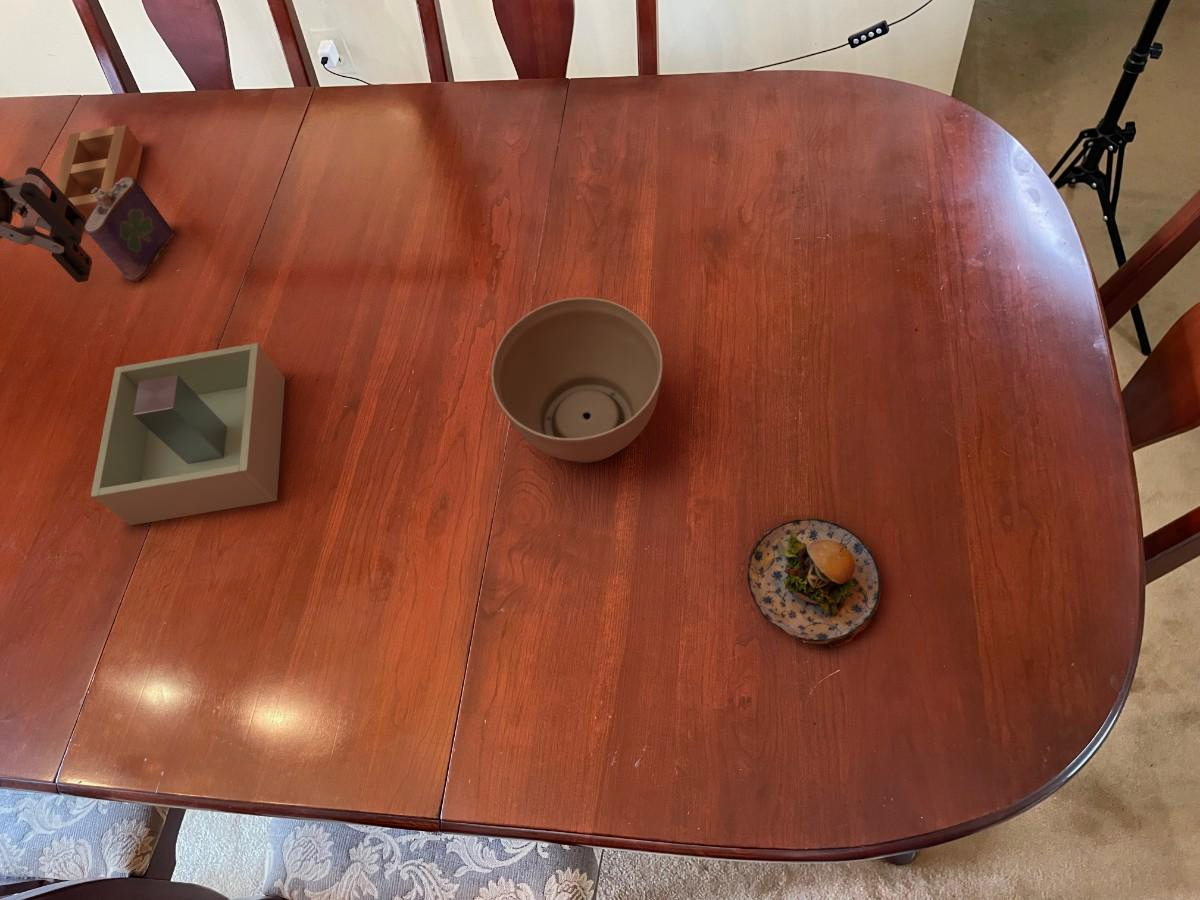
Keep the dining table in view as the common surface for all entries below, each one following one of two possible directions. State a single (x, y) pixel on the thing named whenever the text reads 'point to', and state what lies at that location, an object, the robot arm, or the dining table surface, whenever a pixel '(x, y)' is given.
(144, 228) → the flask
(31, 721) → the dining table surface
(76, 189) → the rack
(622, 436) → the planter bowl
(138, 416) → the grey rectangular block
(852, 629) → the burger
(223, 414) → the tub
